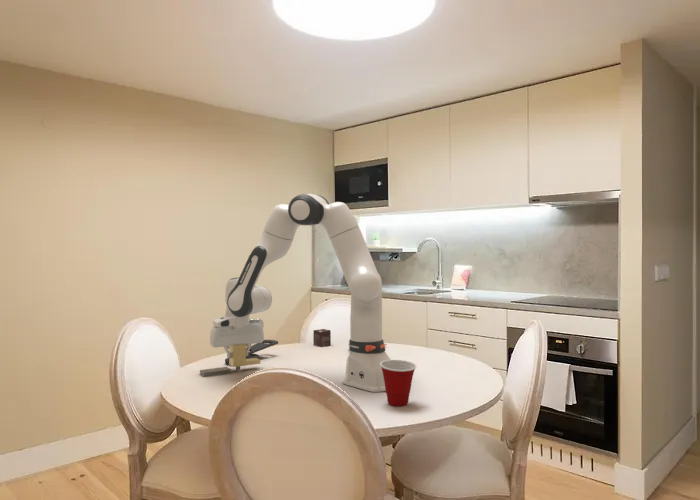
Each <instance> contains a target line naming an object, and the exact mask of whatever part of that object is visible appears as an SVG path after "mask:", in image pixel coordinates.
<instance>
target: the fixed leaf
mask: <svg viewBox="0 0 700 500" xmlns="http://www.w3.org/2000/svg"><path fill="white" fill-rule="evenodd" d="M241 371H242V369H241V366H238V367H235V369H234V372H238V373H239V372H241ZM231 373H232V369H231V368H229V367H227V366H223V367H221V366H220V367H215V368H207V369H206V368H205V369H200V370H199V375H200V376H202V377H203V378H207V377H213V376H222V375H230V374H231Z"/></svg>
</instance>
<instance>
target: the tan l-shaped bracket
mask: <svg viewBox="0 0 700 500" xmlns="http://www.w3.org/2000/svg"><path fill="white" fill-rule="evenodd" d="M246 347H247V346H246V344H240V345H233V346H229V349H228V350H229V352H231V353H232V358H229V365H231V366H230V367H233V368H236V367H238V366H240V367H245V366H253V365H259V364H260V365H261V362H262V361H261V359H258V358H252V359H246Z"/></svg>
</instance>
